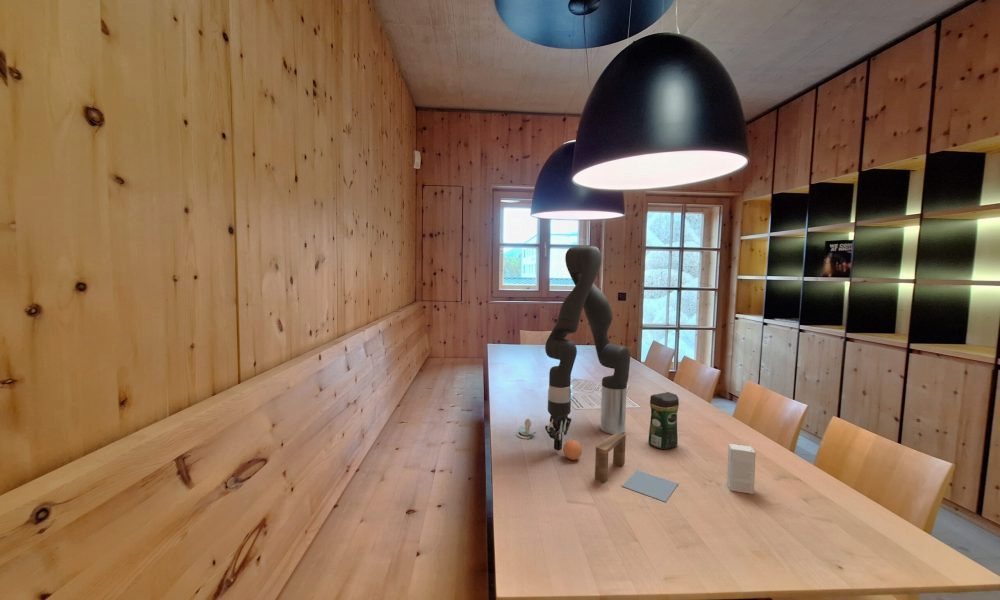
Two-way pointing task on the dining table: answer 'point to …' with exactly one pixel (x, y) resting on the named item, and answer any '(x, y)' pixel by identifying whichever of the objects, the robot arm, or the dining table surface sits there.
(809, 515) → the dining table surface
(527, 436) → the pacifier
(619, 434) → the bridge
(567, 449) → the ball
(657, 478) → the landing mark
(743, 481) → the skincare box
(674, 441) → the coffee jar
